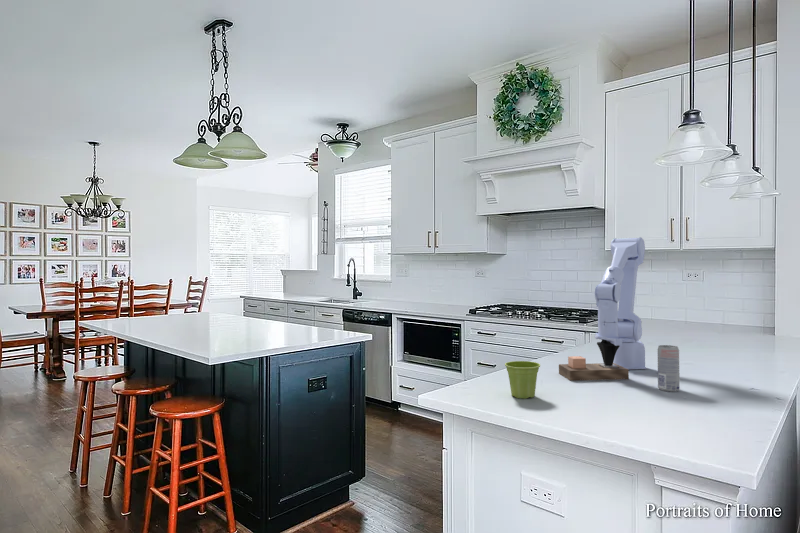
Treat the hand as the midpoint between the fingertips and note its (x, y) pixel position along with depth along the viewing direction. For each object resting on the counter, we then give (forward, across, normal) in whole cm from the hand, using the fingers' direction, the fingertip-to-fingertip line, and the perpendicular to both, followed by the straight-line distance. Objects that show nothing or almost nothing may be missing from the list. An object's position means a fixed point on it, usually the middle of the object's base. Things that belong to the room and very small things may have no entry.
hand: (608, 365), depth 162 cm
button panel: (+3, 0, -5) cm, 6 cm away
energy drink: (+4, +18, +9) cm, 20 cm away
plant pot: (+4, +21, -33) cm, 39 cm away
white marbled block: (+3, 0, 0) cm, 3 cm away
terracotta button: (0, 0, -10) cm, 10 cm away
